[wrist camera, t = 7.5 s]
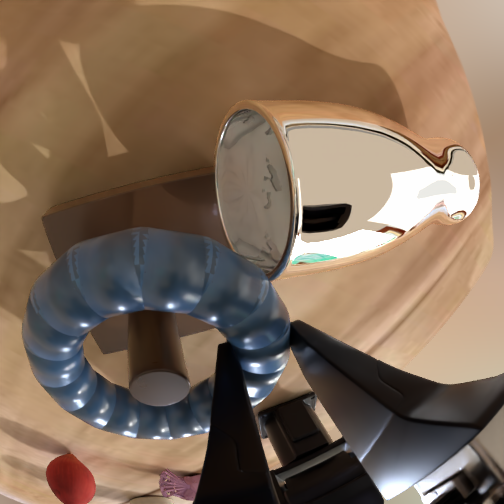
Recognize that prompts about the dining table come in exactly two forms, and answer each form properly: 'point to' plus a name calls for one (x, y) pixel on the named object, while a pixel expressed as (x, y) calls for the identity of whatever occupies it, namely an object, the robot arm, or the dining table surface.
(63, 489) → the onion
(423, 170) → the beer glass
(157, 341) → the stand
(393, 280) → the dining table surface
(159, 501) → the travel mug
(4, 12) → the dining table surface
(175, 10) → the dining table surface
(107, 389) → the blue ribbed ring toss
